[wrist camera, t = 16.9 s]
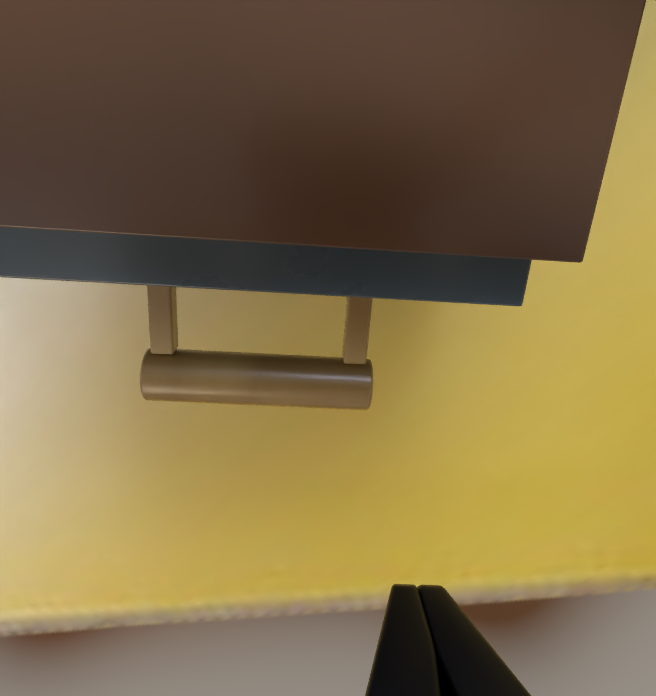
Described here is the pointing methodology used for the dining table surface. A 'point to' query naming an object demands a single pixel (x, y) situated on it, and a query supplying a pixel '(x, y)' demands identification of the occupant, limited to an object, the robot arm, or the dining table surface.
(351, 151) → the cabinet
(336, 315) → the dining table surface
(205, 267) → the drawer
